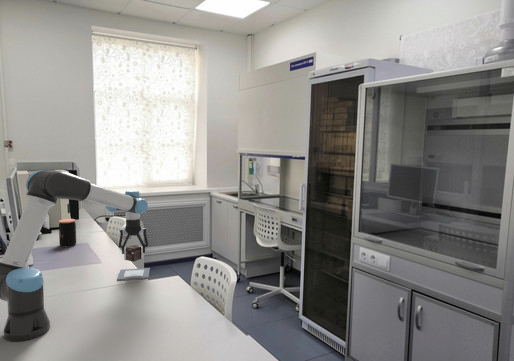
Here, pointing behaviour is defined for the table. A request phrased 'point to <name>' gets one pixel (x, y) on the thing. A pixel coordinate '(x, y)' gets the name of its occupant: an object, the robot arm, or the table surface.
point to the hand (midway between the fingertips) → (133, 259)
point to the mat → (133, 274)
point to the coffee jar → (67, 232)
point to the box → (133, 253)
